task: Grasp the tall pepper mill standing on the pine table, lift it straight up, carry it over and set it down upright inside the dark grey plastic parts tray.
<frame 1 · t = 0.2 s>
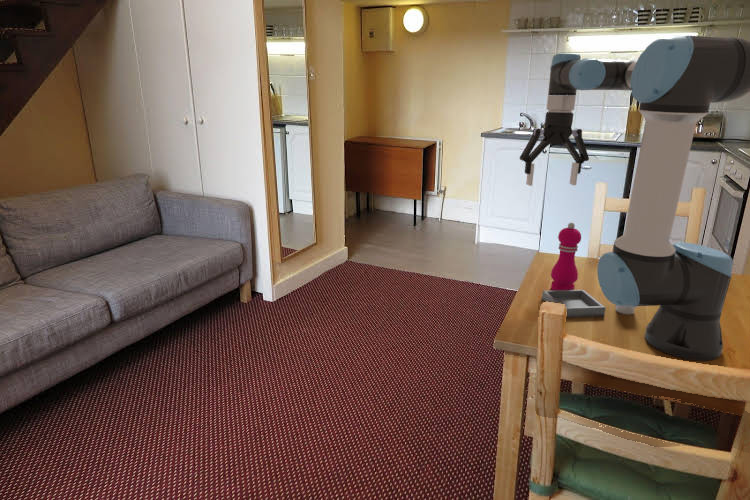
hand: (551, 184, 149), 28 cm above the table, fingers open, 13 cm apart
pepper mill: (562, 290, 144), on the table
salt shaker: (624, 310, 131), on the table
tray: (571, 307, 132), on the table
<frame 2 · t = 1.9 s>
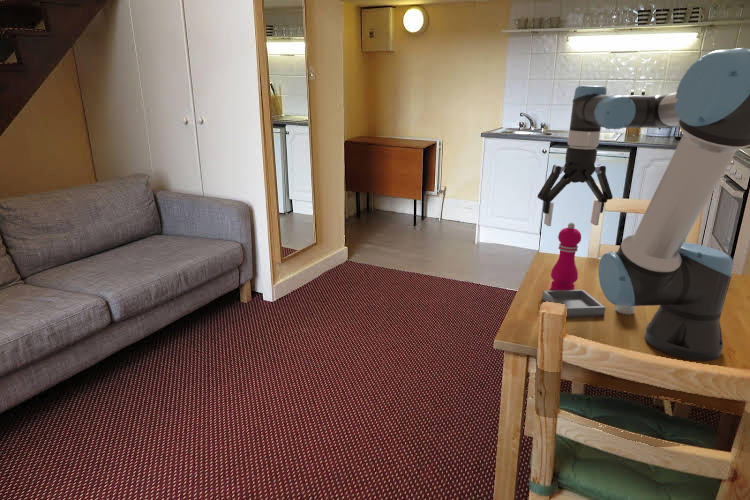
hand: (570, 224, 138), 19 cm above the table, fingers open, 13 cm apart
nothing on the table moved.
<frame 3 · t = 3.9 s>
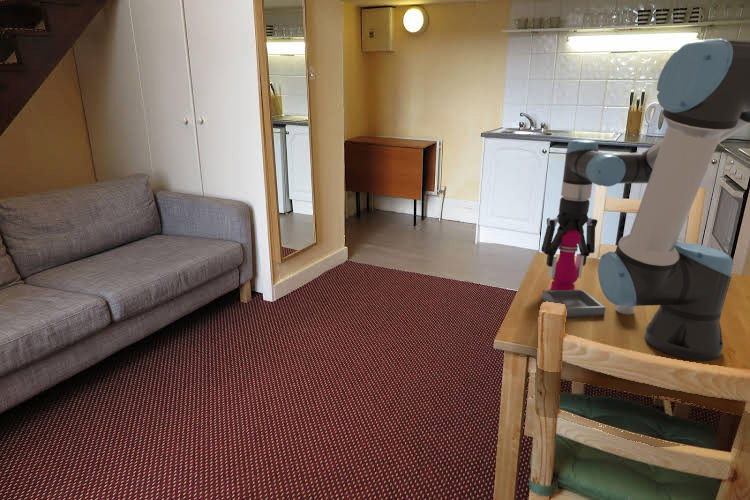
hand: (564, 276, 143), 4 cm above the table, fingers closed on pepper mill, 7 cm apart
pepper mill: (562, 290, 144), on the table, touching gripper
everything else where it was.
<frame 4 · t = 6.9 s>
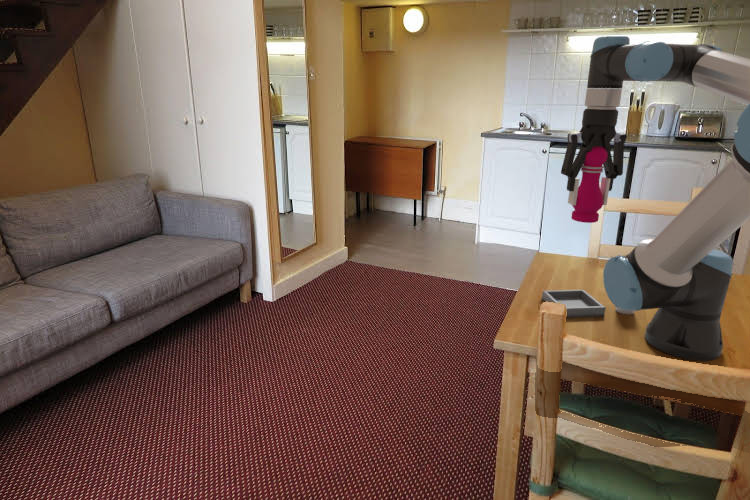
hand: (587, 203, 123), 28 cm above the table, fingers closed on pepper mill, 7 cm apart
pepper mill: (584, 220, 125), point 24 cm above the table, touching gripper
everything else where it was.
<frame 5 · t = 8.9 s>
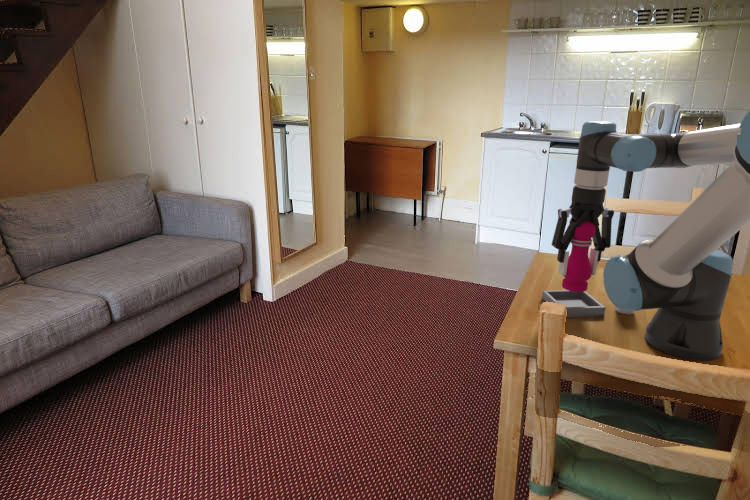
hand: (576, 273, 129), 10 cm above the table, fingers closed on pepper mill, 7 cm apart
pepper mill: (574, 288, 131), point 5 cm above the table, touching gripper
everything else where it was.
when the fingers open (6 cm above the table, at t = 10.0 s): pepper mill drops 1 cm, resting on tray.
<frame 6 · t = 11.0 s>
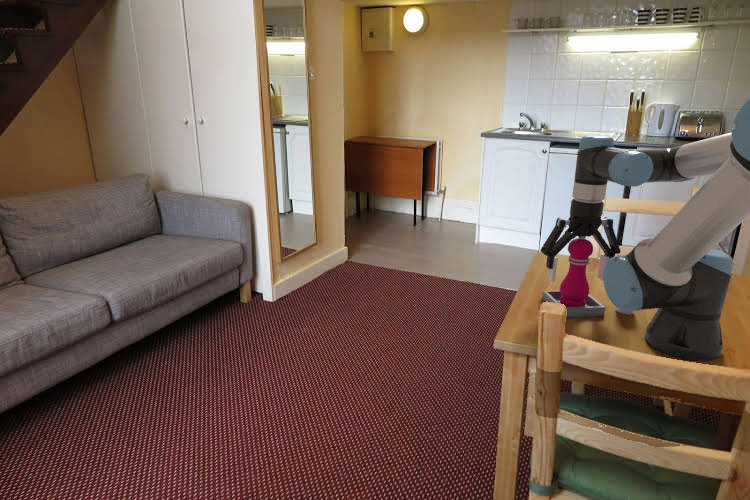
hand: (576, 279, 130), 8 cm above the table, fingers open, 13 cm apart
pepper mill: (572, 305, 132), resting on tray
everything else where it was.
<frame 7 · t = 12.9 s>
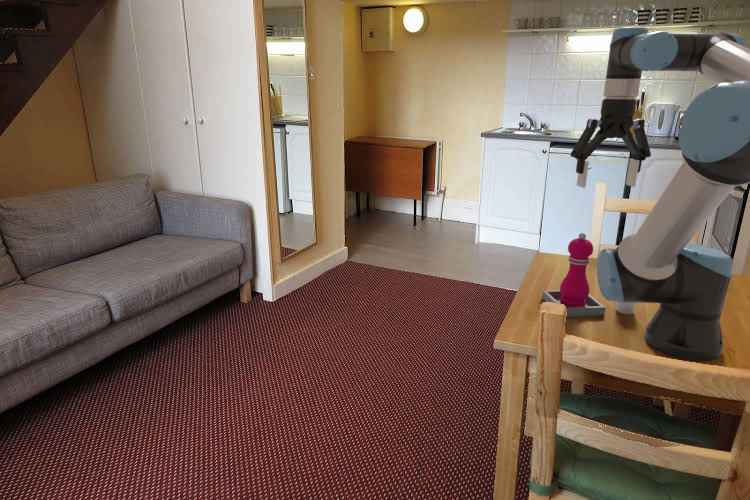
hand: (605, 186, 126), 32 cm above the table, fingers open, 13 cm apart
nothing on the table moved.
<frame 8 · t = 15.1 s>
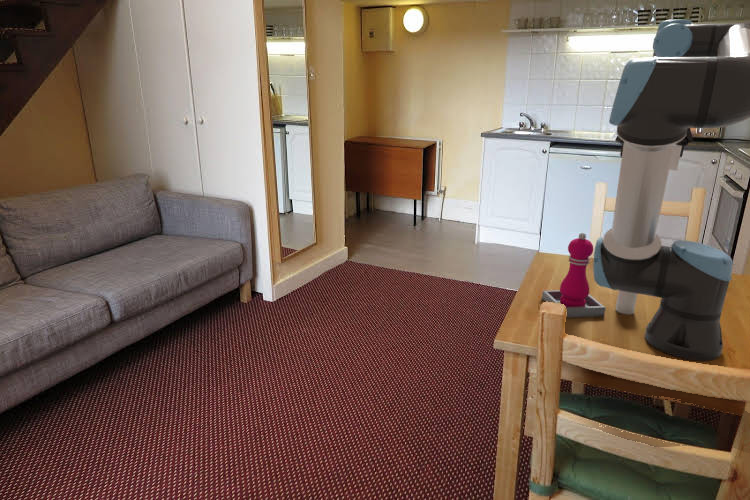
hand: (648, 169, 134), 35 cm above the table, fingers open, 13 cm apart
nothing on the table moved.
at the end: pepper mill inside the target area on the tray (0.0 cm from its centre), point 0.4 cm above the tray's base; pepper mill touching tray; pepper mill tilted 0° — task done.
